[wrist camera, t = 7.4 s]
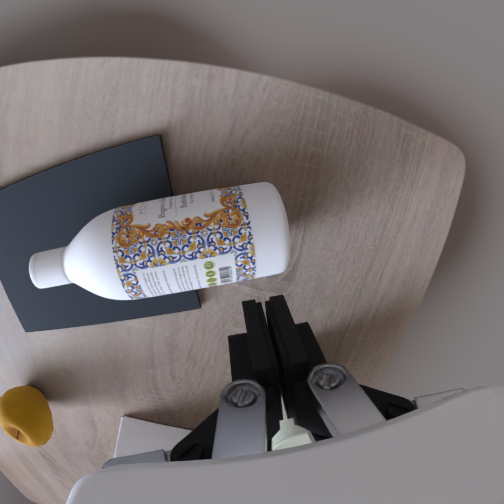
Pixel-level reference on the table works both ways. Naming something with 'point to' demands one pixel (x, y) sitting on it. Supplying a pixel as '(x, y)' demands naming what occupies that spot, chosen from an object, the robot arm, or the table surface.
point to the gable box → (145, 437)
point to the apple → (26, 415)
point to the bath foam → (174, 245)
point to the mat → (70, 224)
